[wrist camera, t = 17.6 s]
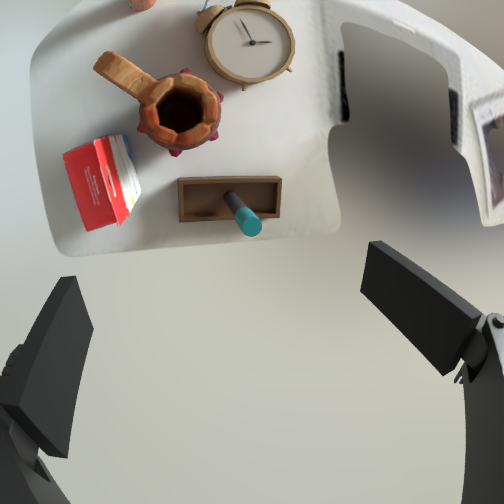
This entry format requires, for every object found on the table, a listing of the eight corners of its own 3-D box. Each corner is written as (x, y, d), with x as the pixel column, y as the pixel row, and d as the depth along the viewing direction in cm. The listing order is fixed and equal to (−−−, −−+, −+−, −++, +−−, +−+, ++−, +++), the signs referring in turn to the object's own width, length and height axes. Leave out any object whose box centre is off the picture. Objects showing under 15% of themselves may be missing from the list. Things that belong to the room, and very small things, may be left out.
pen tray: (179, 218, 39) (179, 222, 37) (178, 177, 36) (177, 180, 35) (275, 213, 42) (279, 218, 40) (277, 175, 40) (282, 178, 38)
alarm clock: (233, 98, 31) (181, -1, 22) (224, 97, 35) (177, 9, 26) (309, 67, 31) (265, -27, 22) (293, 68, 35) (253, -17, 26)
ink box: (93, 145, 32) (47, 155, 19) (126, 133, 32) (96, 134, 19) (110, 204, 35) (76, 244, 22) (143, 193, 36) (124, 229, 23)
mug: (227, 114, 35) (256, 104, 21) (188, 162, 36) (193, 180, 23) (141, 54, 28) (121, 12, 15) (103, 103, 30) (59, 90, 16)
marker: (220, 202, 39) (239, 234, 27) (225, 188, 38) (245, 214, 27) (234, 205, 39) (258, 238, 28) (239, 192, 39) (265, 219, 28)
